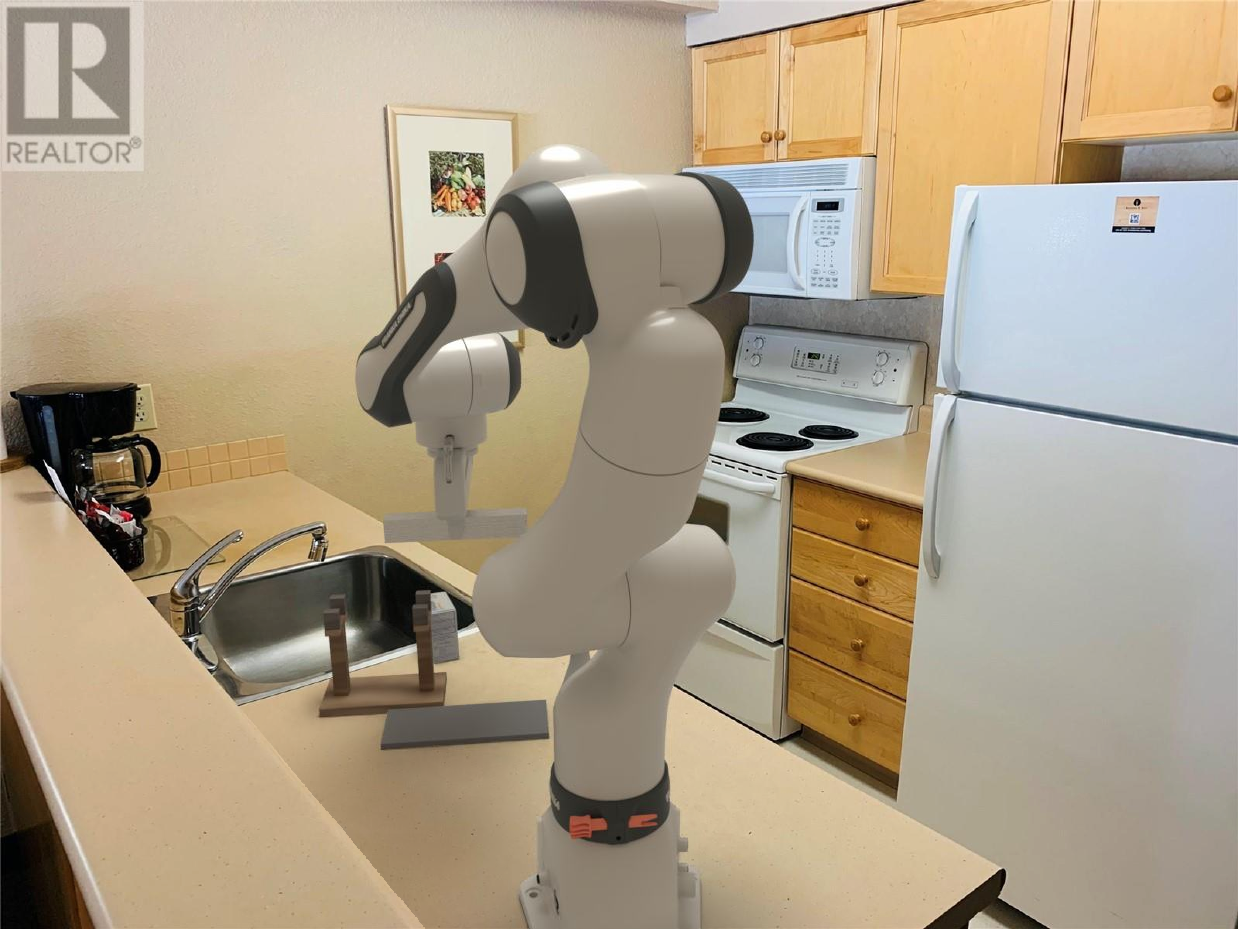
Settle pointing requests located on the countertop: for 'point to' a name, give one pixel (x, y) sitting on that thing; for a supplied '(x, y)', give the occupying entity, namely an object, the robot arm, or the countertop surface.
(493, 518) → the steel rail
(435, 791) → the countertop surface
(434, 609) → the medicine box
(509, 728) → the rubber mat
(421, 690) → the rail stand
